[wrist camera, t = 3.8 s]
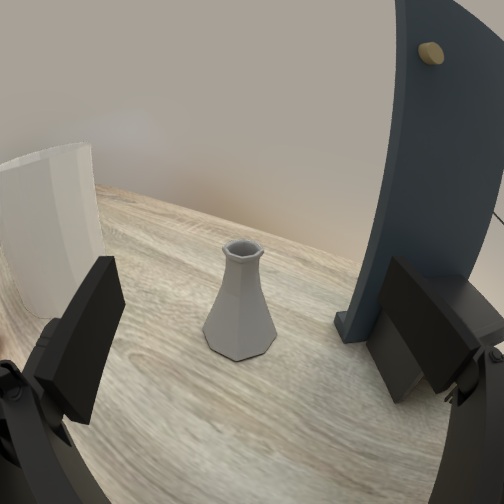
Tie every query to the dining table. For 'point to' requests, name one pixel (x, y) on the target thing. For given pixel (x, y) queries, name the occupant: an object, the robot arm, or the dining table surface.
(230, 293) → the flask
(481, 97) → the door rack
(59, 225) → the container
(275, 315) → the dining table surface
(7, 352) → the dining table surface
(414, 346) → the robot arm
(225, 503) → the dining table surface
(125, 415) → the dining table surface
